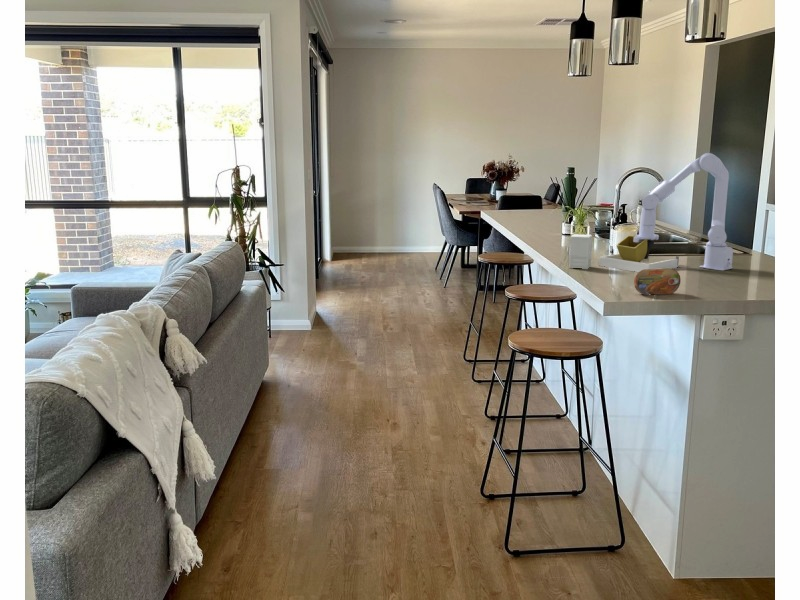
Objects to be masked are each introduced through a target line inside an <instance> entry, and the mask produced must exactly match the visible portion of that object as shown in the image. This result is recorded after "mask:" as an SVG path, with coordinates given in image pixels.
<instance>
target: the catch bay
mask: <svg viewBox="0 0 800 600" xmlns="http://www.w3.org/2000/svg"><path fill="white" fill-rule="evenodd" d="M679 258H680V256H679V255H676V256H675V258H672V259H666V260H661V261H657V262H656V261H655V262H651V263H644V262H632V261H626V260H623V259H622V258H621V256H620V254H619V253H616V254H609V255H604V256H599V260H598V266H599V265H600V266H599V267H604V266H605V268H611V269H617V270H624V271H629V272H634V271H635V273H638V272H640V271H641V270H644V269H660V268H670V269H672V268H673V269H678V268H679V261H680V260H679ZM677 267H678V268H677Z"/></svg>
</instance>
